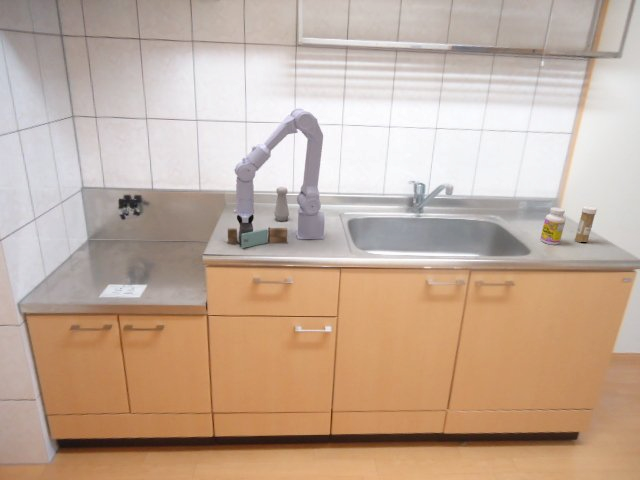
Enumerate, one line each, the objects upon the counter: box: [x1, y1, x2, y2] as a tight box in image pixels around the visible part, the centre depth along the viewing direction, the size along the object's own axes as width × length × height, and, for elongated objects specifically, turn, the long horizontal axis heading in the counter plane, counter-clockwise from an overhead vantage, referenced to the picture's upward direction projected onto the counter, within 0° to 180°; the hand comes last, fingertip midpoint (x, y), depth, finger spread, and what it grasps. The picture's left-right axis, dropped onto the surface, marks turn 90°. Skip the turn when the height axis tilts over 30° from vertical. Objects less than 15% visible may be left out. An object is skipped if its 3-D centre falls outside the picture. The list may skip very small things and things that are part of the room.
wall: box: [227, 226, 288, 245], centre depth 154 cm, size 20×2×5 cm, turn 99°
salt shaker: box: [273, 186, 290, 222], centre depth 176 cm, size 6×6×13 cm
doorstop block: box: [238, 223, 254, 245], centre depth 153 cm, size 4×4×6 cm
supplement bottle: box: [540, 206, 566, 246], centre depth 166 cm, size 7×7×13 cm
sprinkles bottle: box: [574, 205, 598, 243], centre depth 168 cm, size 5×5×13 cm
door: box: [240, 228, 268, 249], centre depth 151 cm, size 10×2×5 cm, turn 128°
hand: (245, 235), depth 157 cm, fingers closed, pressing on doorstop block
